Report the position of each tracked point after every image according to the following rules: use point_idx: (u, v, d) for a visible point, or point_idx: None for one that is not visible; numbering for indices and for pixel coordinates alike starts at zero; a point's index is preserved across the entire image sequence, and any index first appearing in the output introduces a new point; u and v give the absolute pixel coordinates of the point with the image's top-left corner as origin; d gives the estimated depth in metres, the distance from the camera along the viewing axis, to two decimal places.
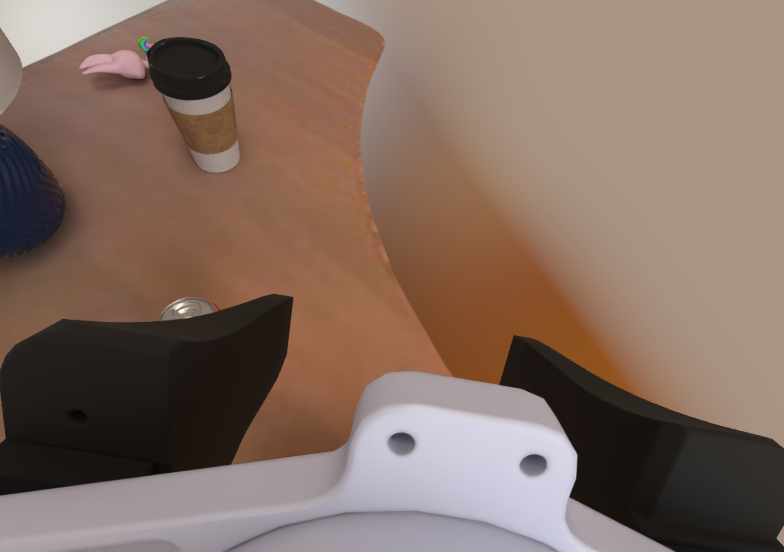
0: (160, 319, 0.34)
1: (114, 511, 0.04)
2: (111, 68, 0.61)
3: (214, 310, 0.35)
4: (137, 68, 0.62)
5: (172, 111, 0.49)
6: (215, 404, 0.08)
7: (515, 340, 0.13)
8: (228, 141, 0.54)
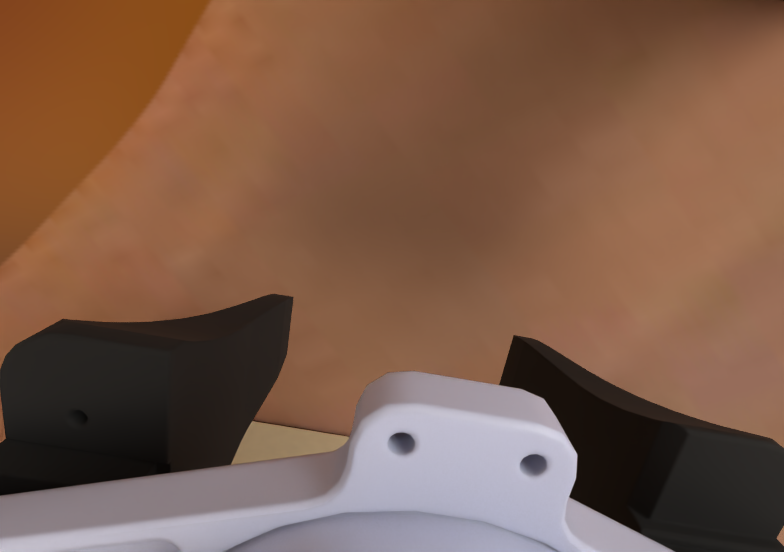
0: None
1: (114, 510, 0.04)
2: None
3: None
4: None
5: None
6: (215, 404, 0.08)
7: (515, 340, 0.13)
8: None
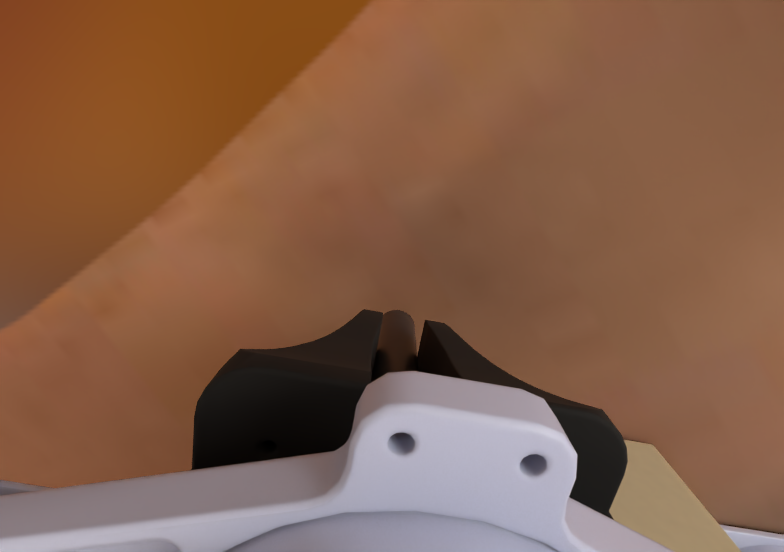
0: None
1: (114, 510, 0.04)
2: None
3: None
4: None
5: None
6: None
7: (425, 325, 0.13)
8: None
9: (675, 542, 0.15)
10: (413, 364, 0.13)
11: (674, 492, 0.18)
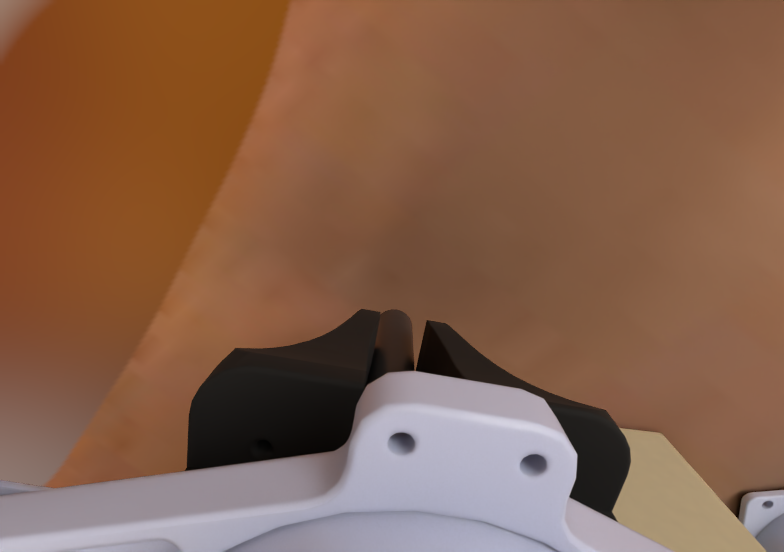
0: None
1: (114, 511, 0.04)
2: None
3: None
4: None
5: None
6: None
7: (427, 325, 0.13)
8: None
9: (685, 530, 0.15)
10: (409, 363, 0.13)
11: (684, 480, 0.17)
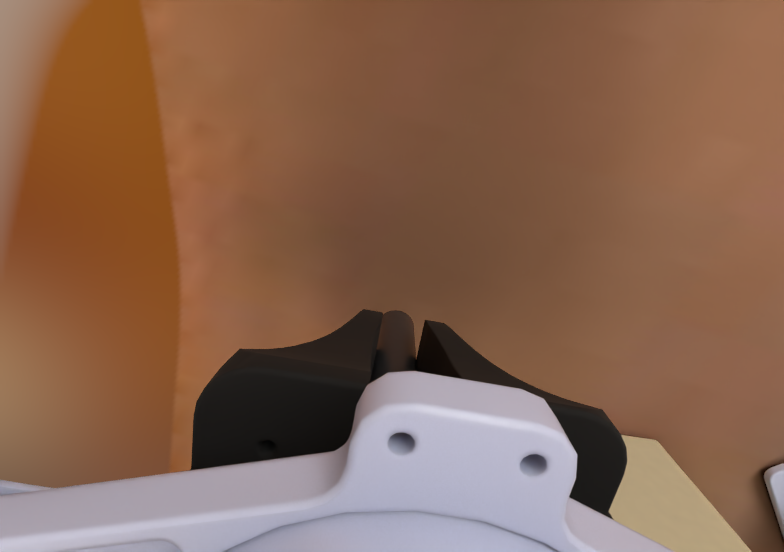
0: None
1: (114, 511, 0.04)
2: None
3: None
4: None
5: None
6: None
7: (425, 324, 0.13)
8: None
9: (679, 537, 0.15)
10: (411, 364, 0.13)
11: (679, 488, 0.18)
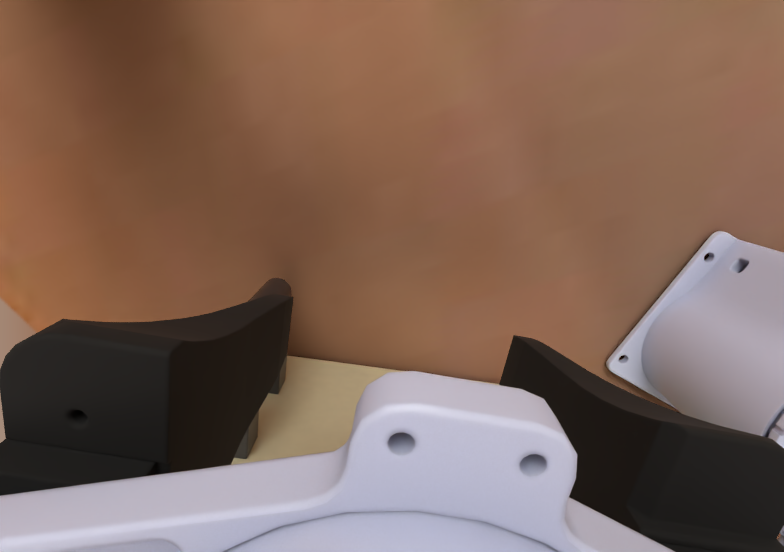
0: None
1: (115, 510, 0.04)
2: None
3: None
4: None
5: None
6: (215, 404, 0.08)
7: (515, 340, 0.13)
8: None
9: None
10: None
11: None
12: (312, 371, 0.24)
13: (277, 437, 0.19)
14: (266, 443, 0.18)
